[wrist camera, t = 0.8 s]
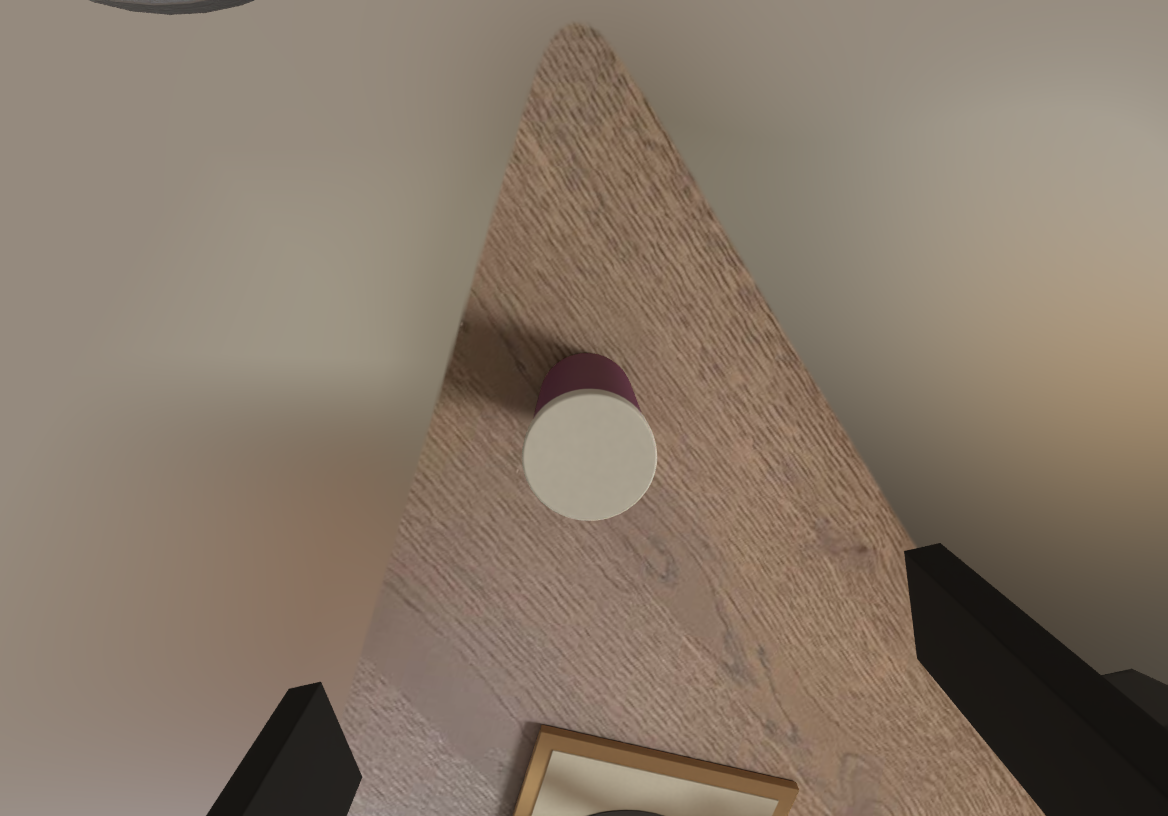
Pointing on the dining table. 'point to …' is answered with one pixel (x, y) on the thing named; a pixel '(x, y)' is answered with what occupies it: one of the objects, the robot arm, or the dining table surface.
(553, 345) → the dining table surface
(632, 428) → the cylinder
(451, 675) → the dining table surface
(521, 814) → the sketch board
